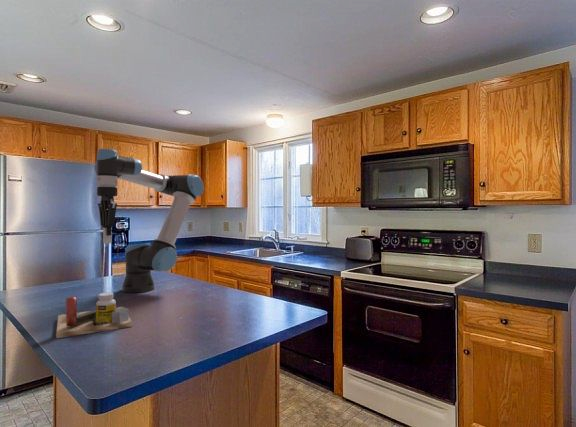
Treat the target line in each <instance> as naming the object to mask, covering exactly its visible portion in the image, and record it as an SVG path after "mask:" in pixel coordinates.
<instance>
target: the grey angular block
mask: <svg viewBox="0 0 576 427" xmlns="http://www.w3.org/2000/svg"><path fill="white" fill-rule="evenodd" d="M129 312H130V311H129V307H124V308H119V309H117V310H115V311H113V312H112V324H119V329H122V328H121V323H123V322H125V321H126V320H128V319H129V317H130V316H129V314H130V313H129Z"/></svg>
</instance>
